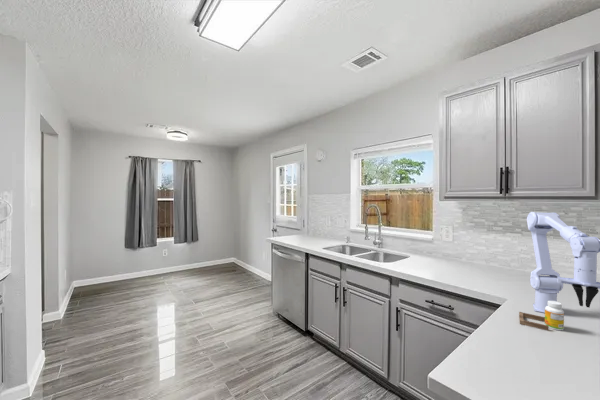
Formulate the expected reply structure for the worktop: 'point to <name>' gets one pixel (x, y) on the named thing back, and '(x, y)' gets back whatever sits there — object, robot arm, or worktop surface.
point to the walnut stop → (532, 324)
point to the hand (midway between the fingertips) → (584, 306)
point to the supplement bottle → (554, 315)
